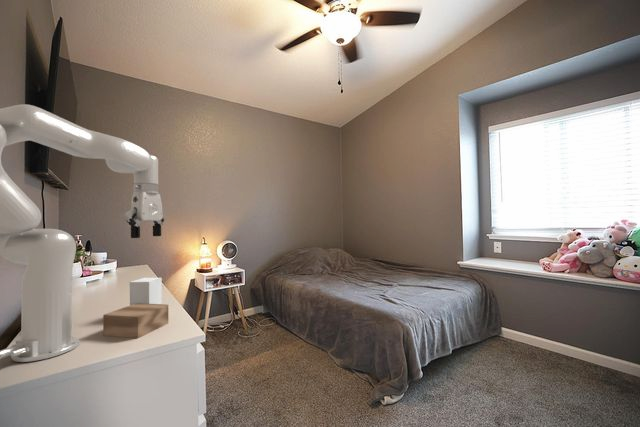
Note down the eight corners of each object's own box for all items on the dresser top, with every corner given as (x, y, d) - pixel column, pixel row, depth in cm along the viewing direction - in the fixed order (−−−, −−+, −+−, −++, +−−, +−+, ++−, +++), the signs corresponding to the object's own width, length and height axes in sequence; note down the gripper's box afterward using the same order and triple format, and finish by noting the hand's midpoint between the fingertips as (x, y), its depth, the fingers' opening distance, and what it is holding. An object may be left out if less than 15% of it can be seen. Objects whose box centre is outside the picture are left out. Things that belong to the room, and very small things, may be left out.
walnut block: (138, 338, 82) (137, 317, 82) (103, 335, 84) (103, 314, 84) (168, 323, 94) (168, 304, 94) (137, 321, 96) (137, 303, 96)
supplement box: (162, 311, 106) (162, 277, 106) (148, 318, 98) (148, 281, 98) (144, 311, 106) (144, 277, 107) (128, 318, 99) (128, 281, 99)
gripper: (135, 186, 94) (135, 238, 94) (172, 191, 111) (172, 235, 111) (116, 187, 96) (116, 238, 95) (155, 191, 113) (156, 235, 112)
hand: (146, 237), depth 103 cm, fingers open, 9 cm apart
